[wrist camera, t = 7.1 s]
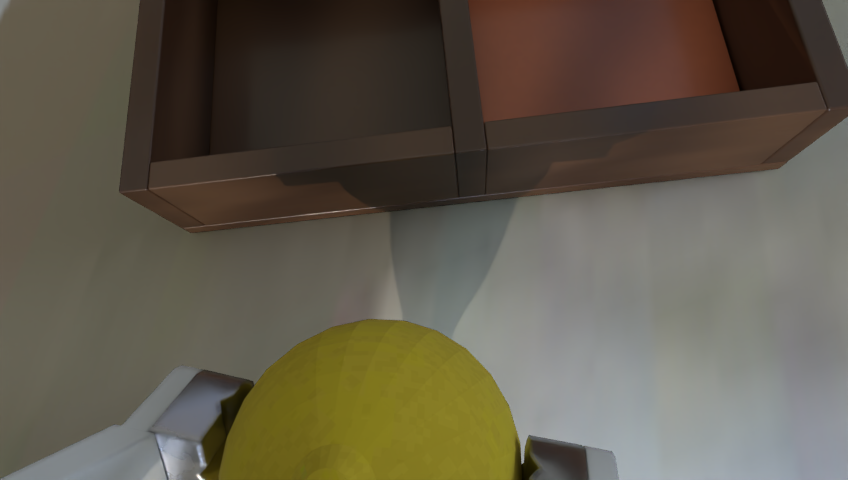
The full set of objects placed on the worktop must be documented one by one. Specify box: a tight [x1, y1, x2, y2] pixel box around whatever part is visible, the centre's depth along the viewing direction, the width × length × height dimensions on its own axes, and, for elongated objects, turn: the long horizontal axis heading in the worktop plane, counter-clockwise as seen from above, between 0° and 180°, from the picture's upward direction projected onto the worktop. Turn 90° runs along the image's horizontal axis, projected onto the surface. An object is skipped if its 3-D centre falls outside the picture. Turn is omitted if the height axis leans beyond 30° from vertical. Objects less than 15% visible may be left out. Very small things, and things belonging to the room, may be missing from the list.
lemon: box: [219, 319, 522, 480], centre depth 10 cm, size 6×6×8 cm
